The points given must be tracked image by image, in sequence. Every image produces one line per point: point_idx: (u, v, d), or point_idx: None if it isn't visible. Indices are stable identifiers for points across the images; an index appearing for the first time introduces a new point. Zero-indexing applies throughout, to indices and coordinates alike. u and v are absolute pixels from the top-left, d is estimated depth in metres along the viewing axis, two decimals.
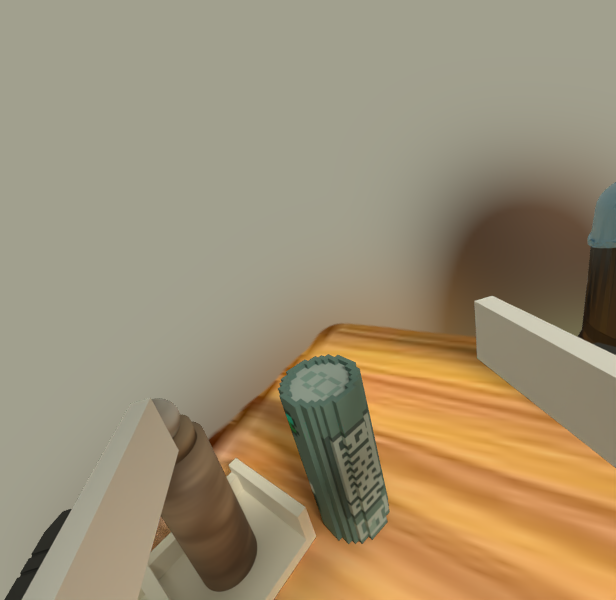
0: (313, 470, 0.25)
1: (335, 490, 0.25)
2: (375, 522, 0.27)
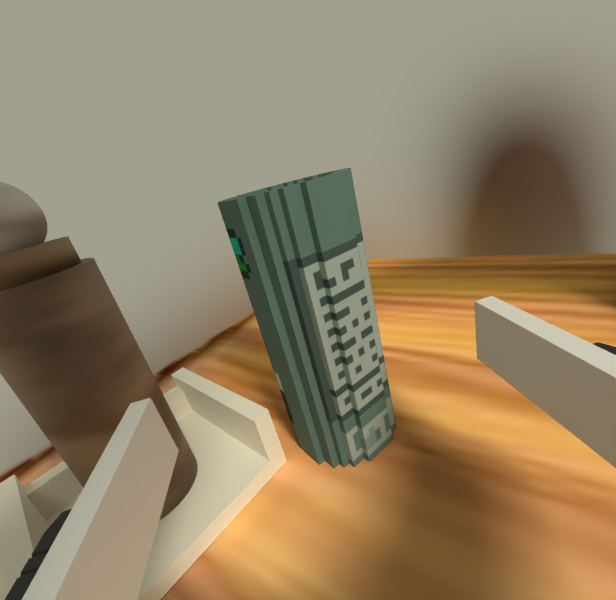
0: (276, 337, 0.16)
1: (312, 371, 0.16)
2: (374, 434, 0.18)
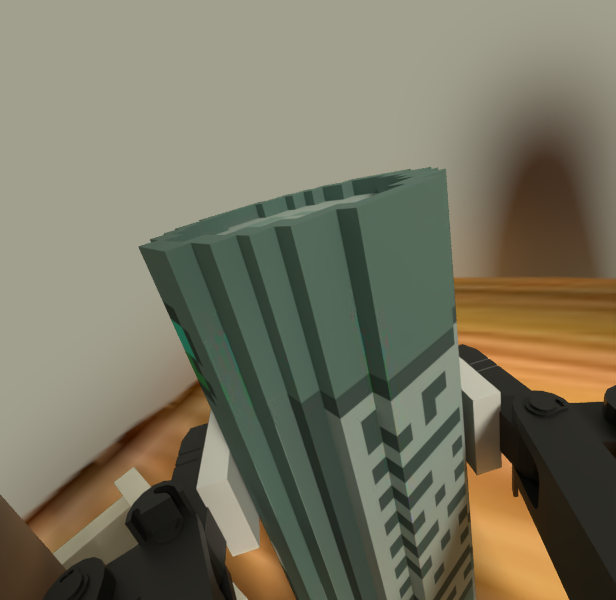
0: (272, 518, 0.08)
1: (346, 584, 0.08)
2: None
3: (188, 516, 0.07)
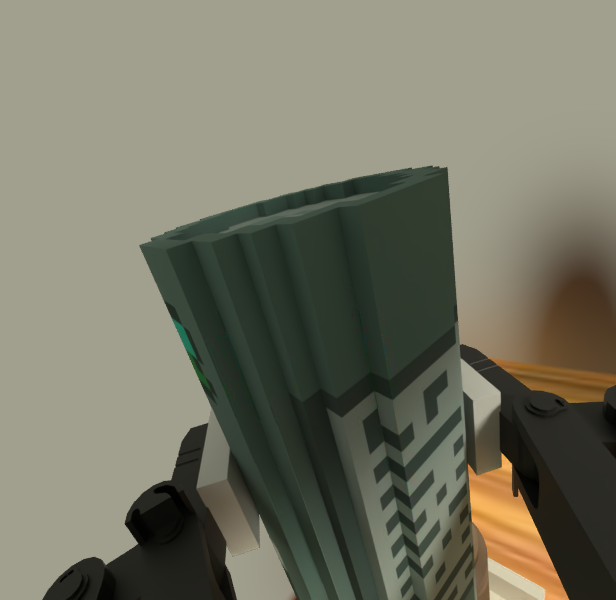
0: (273, 517, 0.08)
1: (347, 584, 0.08)
2: None
3: (188, 516, 0.07)
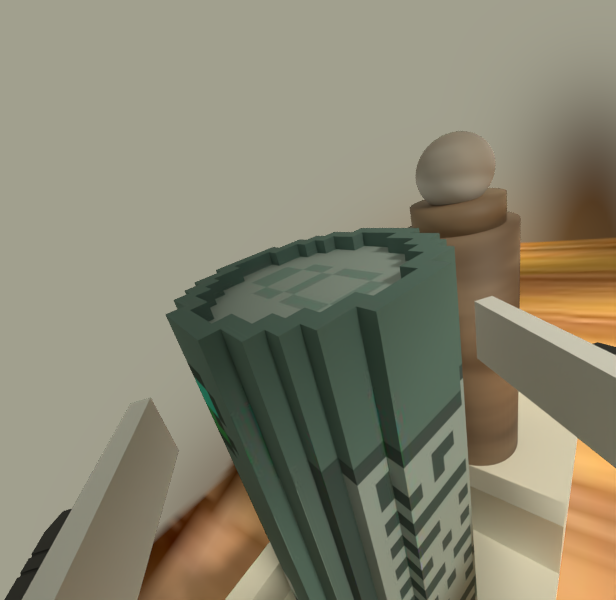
0: (288, 559, 0.08)
1: None
2: None
3: None
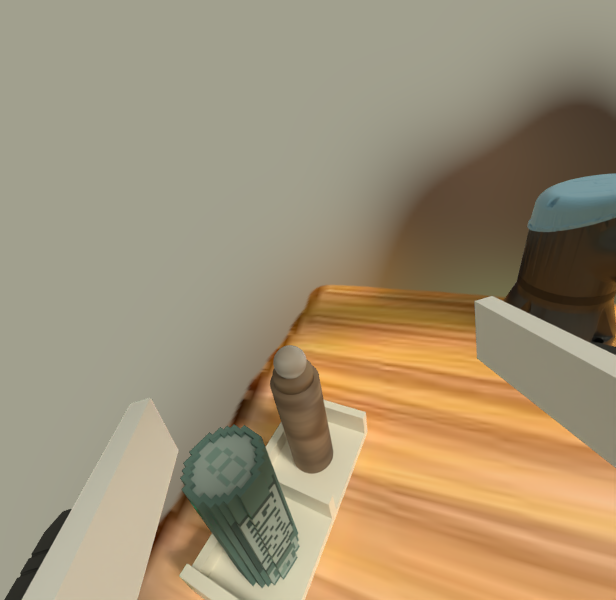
0: (223, 544, 0.25)
1: (246, 556, 0.26)
2: (286, 565, 0.29)
3: None
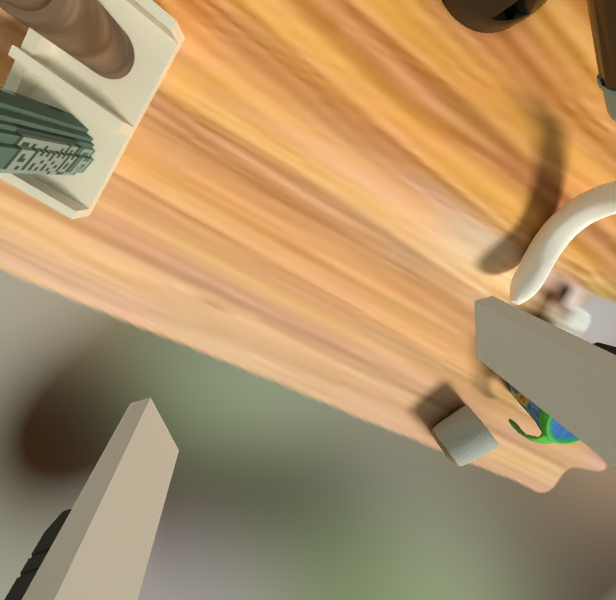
0: None
1: None
2: (80, 167, 0.34)
3: None
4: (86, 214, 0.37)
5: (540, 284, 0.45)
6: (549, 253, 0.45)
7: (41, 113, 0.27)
